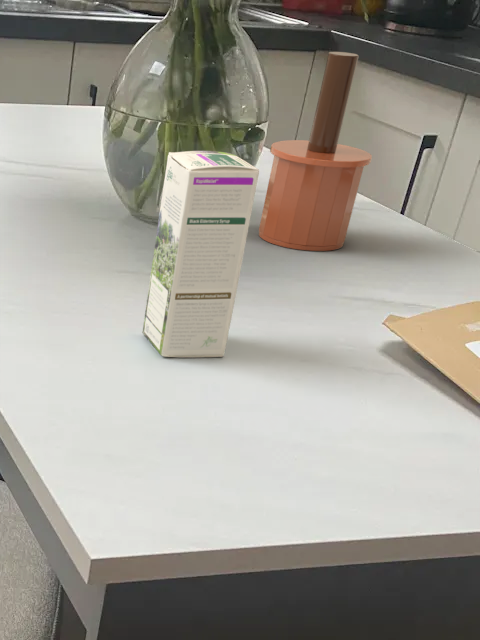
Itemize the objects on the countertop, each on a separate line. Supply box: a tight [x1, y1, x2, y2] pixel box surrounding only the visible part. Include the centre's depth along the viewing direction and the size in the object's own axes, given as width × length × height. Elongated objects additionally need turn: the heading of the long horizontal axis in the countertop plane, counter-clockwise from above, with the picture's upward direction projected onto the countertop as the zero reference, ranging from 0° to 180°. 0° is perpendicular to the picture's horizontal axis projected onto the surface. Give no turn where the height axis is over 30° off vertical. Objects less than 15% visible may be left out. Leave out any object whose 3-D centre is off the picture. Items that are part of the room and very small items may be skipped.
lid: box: [269, 51, 373, 168], centre depth 112 cm, size 11×11×10 cm
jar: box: [258, 155, 365, 252], centre depth 117 cm, size 9×9×8 cm
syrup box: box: [141, 150, 260, 359], centre depth 85 cm, size 6×6×14 cm
